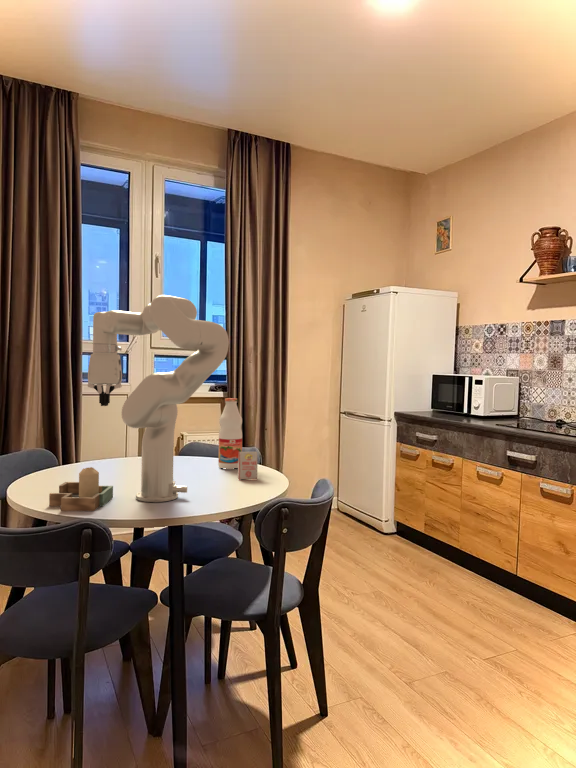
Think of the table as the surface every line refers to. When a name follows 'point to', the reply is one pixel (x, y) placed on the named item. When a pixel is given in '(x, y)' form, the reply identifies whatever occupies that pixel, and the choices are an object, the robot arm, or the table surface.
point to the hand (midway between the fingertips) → (104, 405)
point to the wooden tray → (79, 498)
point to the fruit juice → (230, 435)
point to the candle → (88, 482)
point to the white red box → (247, 465)
